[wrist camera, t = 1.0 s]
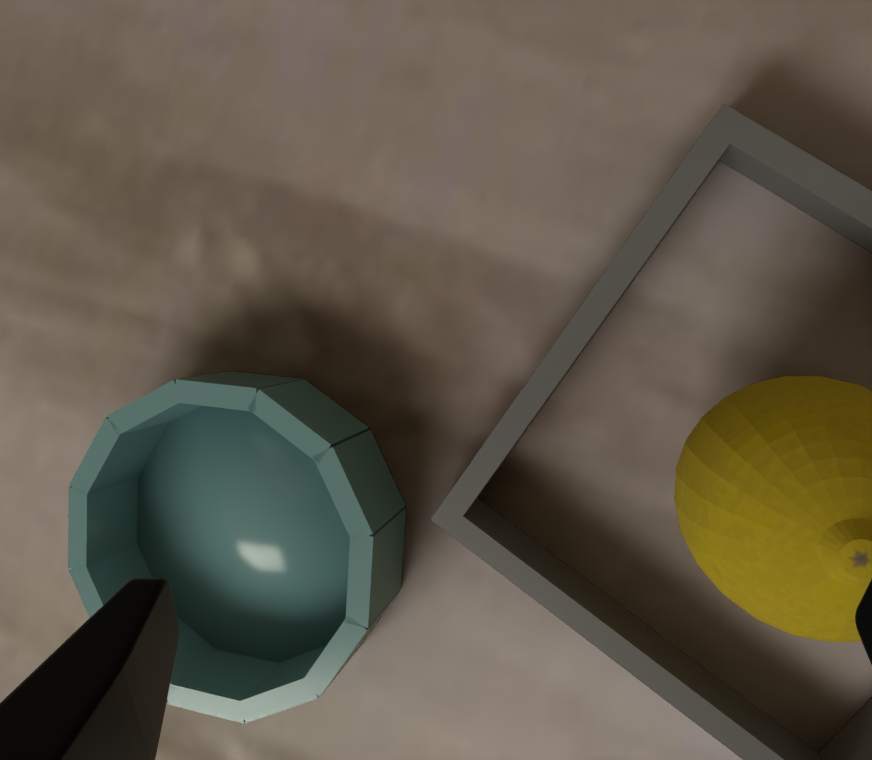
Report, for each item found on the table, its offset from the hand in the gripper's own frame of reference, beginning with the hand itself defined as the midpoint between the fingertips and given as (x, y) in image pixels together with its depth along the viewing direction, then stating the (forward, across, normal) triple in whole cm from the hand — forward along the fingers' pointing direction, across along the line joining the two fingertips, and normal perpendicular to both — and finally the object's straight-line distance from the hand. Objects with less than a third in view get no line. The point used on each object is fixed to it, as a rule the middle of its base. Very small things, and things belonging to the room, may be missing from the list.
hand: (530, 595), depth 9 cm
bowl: (+12, +6, +10) cm, 17 cm away
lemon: (+9, -9, +5) cm, 14 cm away
